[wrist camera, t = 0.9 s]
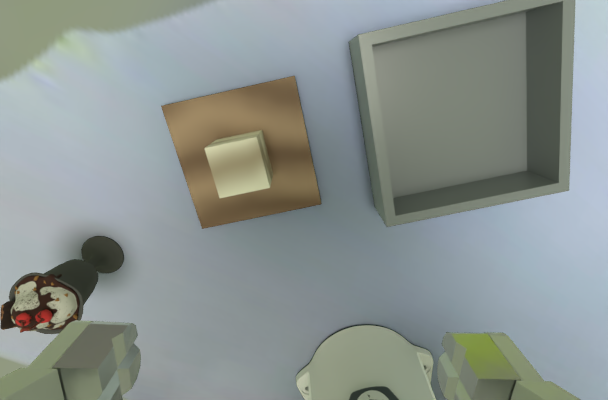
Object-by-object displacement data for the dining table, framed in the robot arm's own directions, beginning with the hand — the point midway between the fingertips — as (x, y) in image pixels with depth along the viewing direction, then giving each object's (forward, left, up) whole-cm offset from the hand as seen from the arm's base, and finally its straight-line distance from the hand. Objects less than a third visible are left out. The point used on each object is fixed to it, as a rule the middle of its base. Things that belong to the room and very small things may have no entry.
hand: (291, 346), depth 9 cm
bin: (0, -16, -31) cm, 35 cm away
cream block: (0, +6, -30) cm, 30 cm away
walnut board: (0, +6, -31) cm, 31 cm away
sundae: (-8, +26, -31) cm, 41 cm away
